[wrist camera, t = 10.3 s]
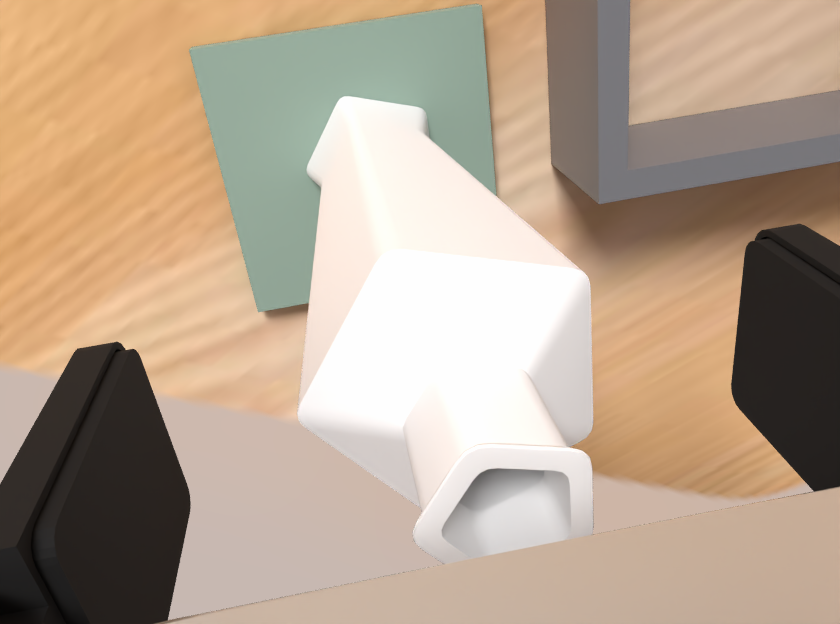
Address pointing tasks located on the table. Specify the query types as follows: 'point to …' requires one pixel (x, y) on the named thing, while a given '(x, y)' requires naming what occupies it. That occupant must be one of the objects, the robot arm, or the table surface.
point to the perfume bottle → (445, 341)
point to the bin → (666, 139)
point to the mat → (310, 111)
